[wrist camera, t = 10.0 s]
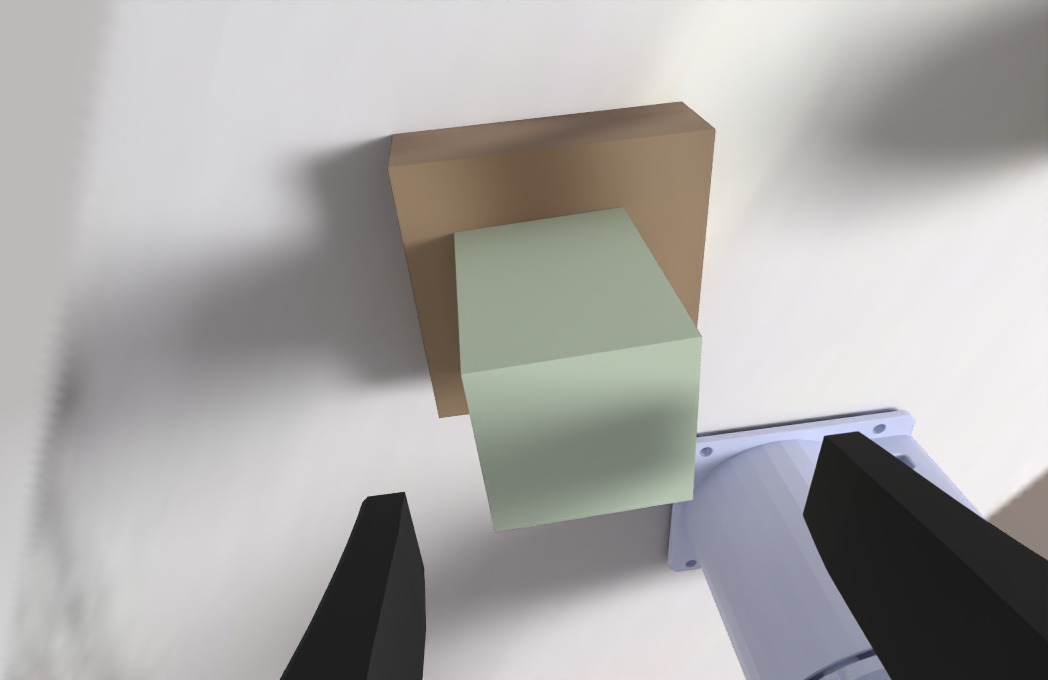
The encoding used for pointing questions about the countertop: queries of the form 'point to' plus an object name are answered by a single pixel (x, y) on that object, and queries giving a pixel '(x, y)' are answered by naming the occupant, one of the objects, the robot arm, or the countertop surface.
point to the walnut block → (546, 200)
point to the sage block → (575, 369)
